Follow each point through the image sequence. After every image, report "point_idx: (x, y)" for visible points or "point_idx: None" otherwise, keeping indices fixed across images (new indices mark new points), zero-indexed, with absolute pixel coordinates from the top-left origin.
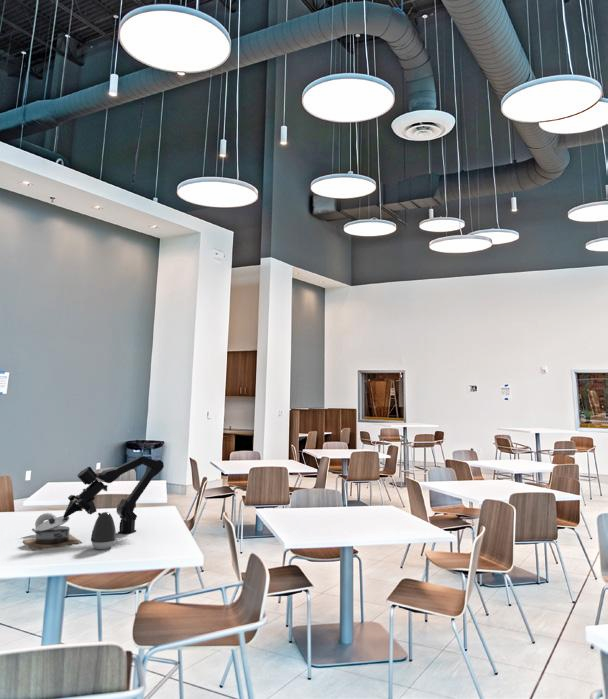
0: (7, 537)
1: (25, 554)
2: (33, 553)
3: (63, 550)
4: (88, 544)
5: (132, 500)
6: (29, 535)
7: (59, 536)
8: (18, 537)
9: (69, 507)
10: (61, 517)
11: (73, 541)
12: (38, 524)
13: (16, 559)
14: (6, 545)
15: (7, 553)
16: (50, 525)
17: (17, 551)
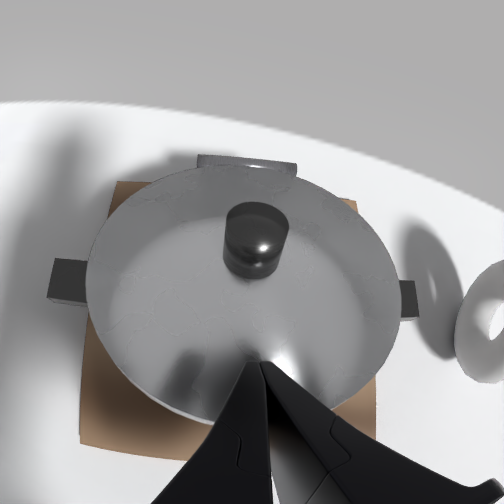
0: (447, 190)
1: (81, 152)
2: (68, 177)
3: (11, 294)
4: (42, 453)
5: None
6: (458, 264)
7: (54, 280)
8: (437, 218)
9: (218, 445)
10: (327, 359)
11: (129, 415)
12: (487, 275)
13: (48, 124)
14: (306, 140)
15: (154, 112)
16: (174, 223)
17: (156, 139)
